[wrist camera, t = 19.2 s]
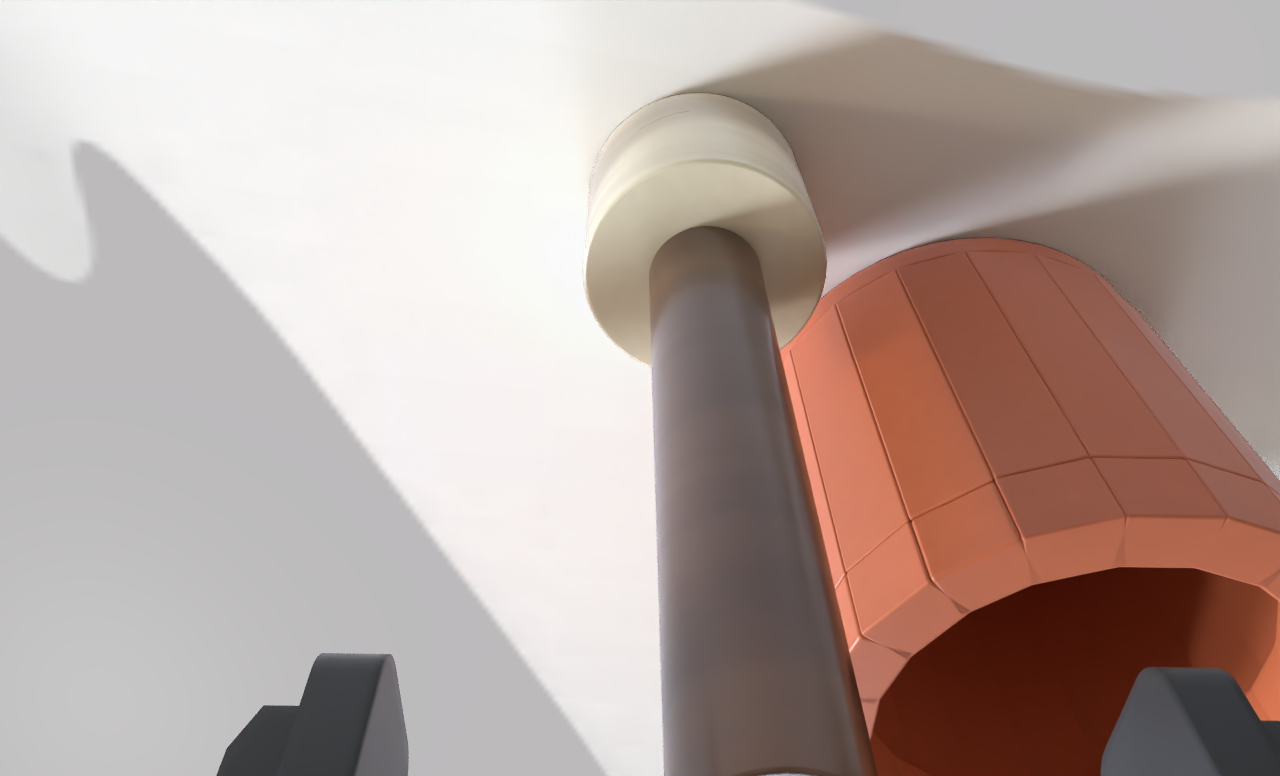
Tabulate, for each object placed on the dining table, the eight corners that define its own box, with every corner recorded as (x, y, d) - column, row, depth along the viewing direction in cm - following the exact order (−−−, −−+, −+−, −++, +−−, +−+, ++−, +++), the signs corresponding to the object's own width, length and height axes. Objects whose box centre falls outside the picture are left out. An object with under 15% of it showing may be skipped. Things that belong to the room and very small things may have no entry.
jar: (776, 231, 24) (853, 511, 16) (1199, 240, 24) (1498, 521, 16) (741, 550, 29) (785, 882, 21) (1085, 554, 30) (1263, 885, 21)
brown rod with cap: (589, 88, 22) (524, 672, 9) (811, 94, 22) (1084, 678, 9) (589, 286, 25) (541, 965, 11) (787, 290, 25) (970, 968, 11)
